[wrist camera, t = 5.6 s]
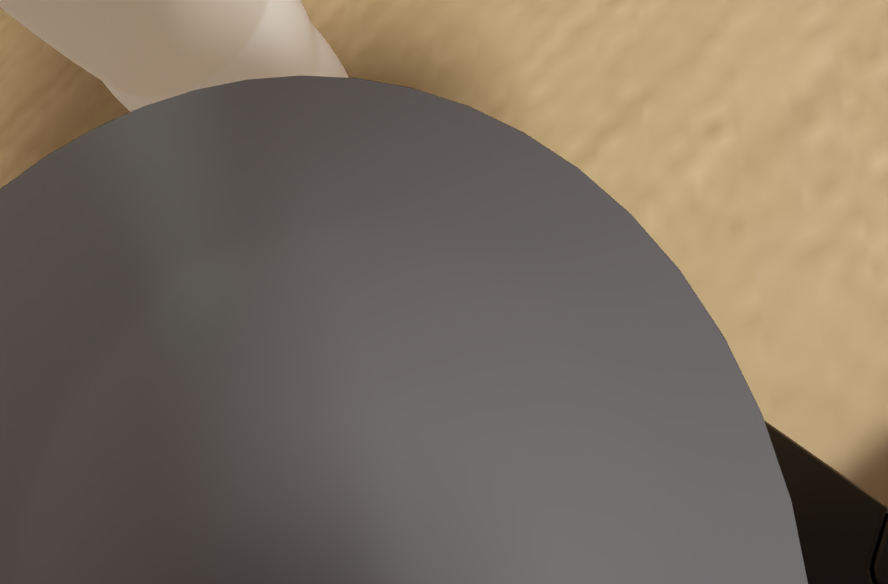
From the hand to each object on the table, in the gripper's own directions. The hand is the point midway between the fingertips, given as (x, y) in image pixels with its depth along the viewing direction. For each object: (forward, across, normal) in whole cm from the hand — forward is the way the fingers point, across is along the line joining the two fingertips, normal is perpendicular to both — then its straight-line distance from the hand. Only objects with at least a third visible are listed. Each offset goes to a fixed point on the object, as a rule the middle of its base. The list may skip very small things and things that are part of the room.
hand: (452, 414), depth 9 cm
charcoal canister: (+4, 0, +6) cm, 7 cm away
